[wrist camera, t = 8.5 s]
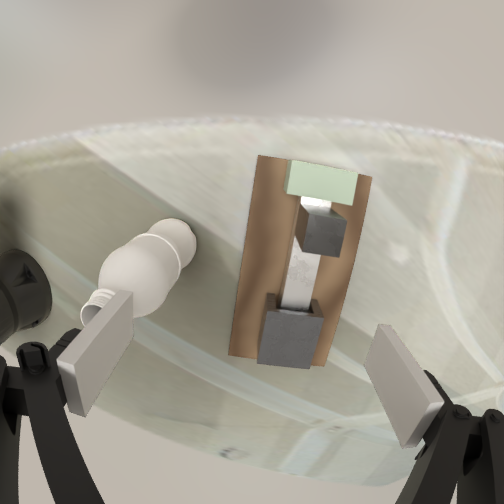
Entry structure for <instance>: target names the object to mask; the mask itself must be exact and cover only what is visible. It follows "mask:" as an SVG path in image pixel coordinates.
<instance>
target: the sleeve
mask: <svg viewBox="0 0 504 504" xmlns="http://www.w3.org/2000/svg"><path fill="white" fill-rule="evenodd" d="M323 321H324V316H323V314H322V311H321V308H320V306H319V303H318V300H317V299H311V300H310V304H309V309H308V313H305V312H297V311H289V310H282V309H276V301H275V293H268V292H267V293H266V299H265V304H264V310H263V315H262V320H261V326H260V331H259V336H258V342H257V363H258V364H266V365H274V366H283V367H292V368H302V369H310V365H311V362H312V359H313V355H314V352H315V349H316V345H317V342H318V338H319V335H320V331H321V328H322V324H323Z"/></svg>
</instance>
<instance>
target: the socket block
mask: <svg viewBox="0 0 504 504" xmlns="http://www.w3.org/2000/svg"><path fill="white" fill-rule="evenodd" d="M357 177H358V173H356V172H351V171H347V170H342V169H337V168H333V167H328V166H323V165H318V164H313V163H307V162H302V161H296V160H288V164H287V170H286V176H285V182H284V188H283V189H284V191H285V192H286V193H287V194H292V195H297V196H303V197H309V198H314V199H320V200H325V201H331V202H336V203H341V204H346V205H351V206H352V204H353V199H354V194H355V188H356V183H357Z"/></svg>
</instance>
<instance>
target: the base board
mask: <svg viewBox="0 0 504 504" xmlns="http://www.w3.org/2000/svg"><path fill="white" fill-rule="evenodd" d="M287 164H288V160H286V159H280V158H274V157H268V156H261V155H258V160H257V166H256V173H255V179H254V186H253V192H252V199H251V205H250V212H249V218H248V225H247V232H246V238H245V245H244V252H243V258H242V265H241V272H240V278H239V285H238V292H237V299H236V306H235V312H234V319H233V326H232V333H231V340H230V347H229V354H228V355H231V356H238V357H245V358H252V359H257V342H258V336H259V331H260V326H261V320H262V315H263V310H264V304H265V299H266V293H267V292H268V293H275V301H276V309H277V305H278V300H279V295H280V290H281V285H282V280H283V275H284V270H285V264H286V259H287V254H288V249H289V243H290V238H291V233H292V227H293V222H294V216H295V210H296V205H297V199H298V196H297V195H292V194H287V193H286V192H285V191H284V189H283V188H284V182H285V176H286V170H287ZM371 181H372V177H370V176H366V175H361V174H358V177H357V183H356V188H355V194H354V199H353V204H352V206H351V205H346V204H341V203H336V202H331V209H333V210H334V211H335V212H337V213H338V214H339V215H341V216H342V217H344V218H345V219H346V220H347V225H346V230H345V235H344V239H343V244H342V248H341V253H340V257H339V258H337V257H330V256H324V255H321V257H320V261H319V266H318V270H317V275H316V279H315V283H314V288H313V292H312V296H311V299H317V300H318V303H319V306H320V308H321V311H322V314H323V316H324V321H323V324H322V328H321V331H320V335H319V338H318V342H317V345H316V349H315V352H314V355H313V359H312V362H311V365H313V366H324V365H325V362H326V359H327V356H328V353H329V350H330V347H331V344H332V340H333V337H334V334H335V331H336V327H337V324H338V320H339V317H340V314H341V310H342V307H343V303H344V299H345V296H346V292H347V288H348V284H349V281H350V277H351V273H352V269H353V265H354V261H355V257H356V253H357V248H358V244H359V240H360V235H361V231H362V226H363V222H364V217H365V212H366V207H367V202H368V197H369V192H370V187H371Z"/></svg>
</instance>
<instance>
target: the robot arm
mask: <svg viewBox="0 0 504 504" xmlns="http://www.w3.org/2000/svg"><path fill="white" fill-rule="evenodd" d="M51 303H52V298H51V291H50V287H49V284H48V281H47V278H46V276H45V274H44V272H43V270H42V269H41V267H40V266H39V265H38V263H37V262H36V261H35V260H34V259H33V258H32V257H31V256H30V255H28V254H27V253H25V252H23V251H20V250H11V251H8V252H6V253H4V254H2V255H1V256H0V345H1V344H2V343H3V342H5V341H6V340H7V339H8V338H9V337H10V336H11V335H12V334H14V333H15V332H17V331H21V330H25V329H29V328H32V327H35V326H37V325H39V324H40V323H41V322H43V321H44V320H45V319H46V318H47V317H48V315H49V313H50V310H51ZM133 337H134V329H133V292H131V291H126V290H119V291H118V292H117V293H116V294H115V295H114V296H113V297H112V298H111V299H110V300H109V301H108V302H107V303H106V304H105V306H104V307H103V308H102V309H101V310H100V311H99V312H98V313H97V314H96V315H95V316H94V318H93V319H92V320H91V321H90V322H89V323H88V324H87V325H86V326H85V327H84V329H83V330H80V329H76V328H74V329H72V330H70V331H68V332H66V333H65V334H64V335H63V336H62V337H61V338H60V340H58V341H57V342H56V345H54V346H53V347H52V348H51V349H50V350H49V351H48V349H47V347H46V346H45V345H44V344H42V343H39V342H27V343H24V344H22V345H21V346H19V348H18V349H17V352H16V355H17V358H18V362H19V366H20V367H12V366H7V364H6V360H5V359H4V357H2V356H1V355H0V504H19V499H18V498H19V496H18V461H19V460H18V459H19V441H20V428H21V417H22V415H24V416H29V418H30V422H31V427H32V431H33V435H34V439H35V443H36V447H37V450H38V453H39V457H40V460H41V464H42V467H43V470H44V473H45V476H46V479H47V482H48V485H49V488H50V490H51V493H52V496H53V498H54V501H55V504H105V503H104V501H103V499H102V497H101V495H100V494H99V491H98V490H97V488H96V485H95V483H94V481H93V479H92V477H91V475H90V473H89V471H88V469H87V466H86V464H85V462H84V460H83V457H82V455H81V453H80V450H79V448H78V446H77V443H76V441H75V438H74V436H73V433H72V430H71V427H70V425H69V422H68V419H67V416H66V414H65V410H64V408H63V407H64V406H65V404H66V403H67V405H68V408H69V411H70V412H71V413H74V414H77V415H80V416H83V417H86V416H87V414H88V412H89V410H90V409H91V407H92V405H93V403H94V402H95V400H96V398H97V397H98V395H99V393H100V391H101V390H102V388H103V386H104V385H105V383H106V381H107V380H108V378H109V376H110V375H111V373H112V371H113V370H114V368H115V366H116V365H117V363H118V361H119V360H120V358H121V356H122V355H123V353H124V351H125V350H126V348H127V347H128V345H129V343H130V342H131V340H132V339H133ZM364 367H365V369H366V371H367V373H368V375H369V377H370V379H371V381H372V383H373V385H374V388H375V390H376V392H377V394H378V396H379V398H380V400H381V403H382V405H383V407H384V409H385V411H386V413H387V416H388V418H389V420H390V422H391V424H392V427H393V429H394V431H395V433H396V436H397V438H398V440H399V442H400V445H401V447H402V449H404V448H411V447H416V446H417V445H418V444H419V442H420V441H421V439H422V438H423V439H424V441H425V445H424V446H423V448H422V449H421V451H420V452H419V453H418V455H417V456H416V457H415V460H417V461H416V463H415V465H414V467H413V470H412V472H411V474H410V476H409V478H408V480H407V482H406V484H405V486H404V488H403V490H402V492H401V494H400V496H399V498H398V499H397V501H396V503H395V504H450V502H451V499H452V496H453V493H454V490H455V487H456V484H457V504H504V415H503V414H502V412H500V411H499V410H495V409H488V410H486V412H485V413H484V415H483V416H482V417H477V416H472V414H471V413H470V411H469V410H468V409H467V408H465V407H464V406H461V405H458V404H453V403H452V401H451V400H450V398H449V397H448V396H447V394H446V393H445V391H444V390H443V389H442V387H441V386H440V384H438V381H437V380H436V379H435V377H434V376H433V375H432V374H431V373H429V372H428V371H427V370H423V369H422V368H421V367H420V365H419V364H418V362H417V361H416V360H415V358H414V357H413V355H412V354H411V353H410V351H409V350H408V348H407V347H406V346H405V344H404V343H403V342H402V340H401V339H400V337H399V336H398V335H397V333H396V332H395V331H394V329H393V328H392V327H391V325H383V324H378V327H377V330H376V333H375V336H374V339H373V342H372V344H371V347H370V350H369V353H368V355H367V358H366V361H365V363H364Z"/></svg>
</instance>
